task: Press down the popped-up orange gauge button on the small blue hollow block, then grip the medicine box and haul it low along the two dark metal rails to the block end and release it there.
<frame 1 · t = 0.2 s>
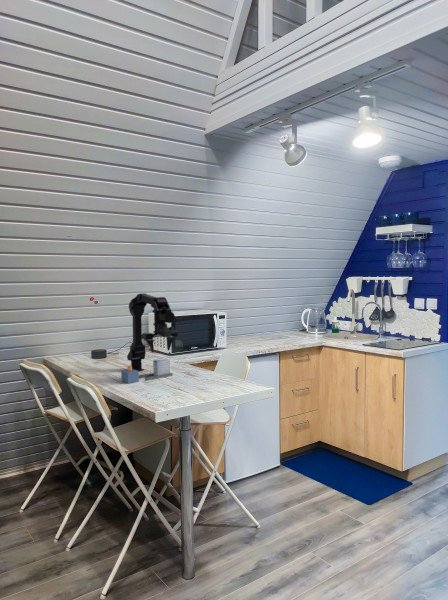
hand: (160, 351, 233), 14 cm above the countertop, fingers open, 9 cm apart
rails: (155, 376, 238), on the countertop
blue hollow block: (130, 381, 229), on the countertop
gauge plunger: (129, 370, 228), point 6 cm above the countertop, slide at 0.0 cm
medicine box: (161, 376, 241), on the countertop
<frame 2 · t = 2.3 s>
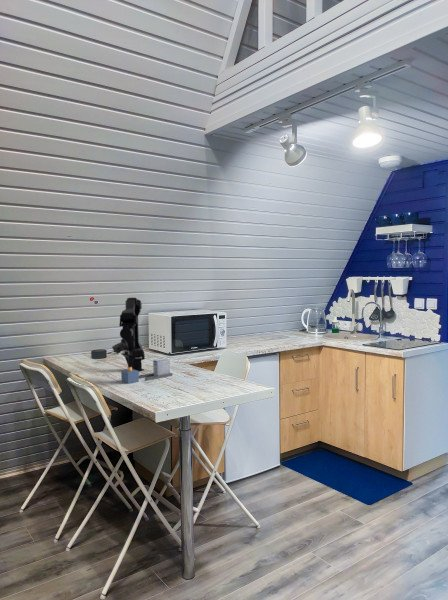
hand: (129, 367, 228), 7 cm above the countertop, fingers closed, pressing on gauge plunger
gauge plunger: (129, 371, 228), point 5 cm above the countertop, slide at -0.5 cm, touching gripper
everything else where it was.
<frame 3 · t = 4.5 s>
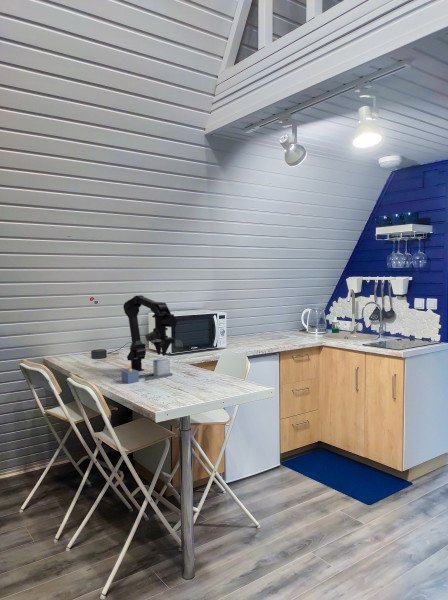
hand: (161, 355, 240), 11 cm above the countertop, fingers open, 4 cm apart
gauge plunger: (129, 372, 228), point 4 cm above the countertop, slide at -1.4 cm
everything else where it was.
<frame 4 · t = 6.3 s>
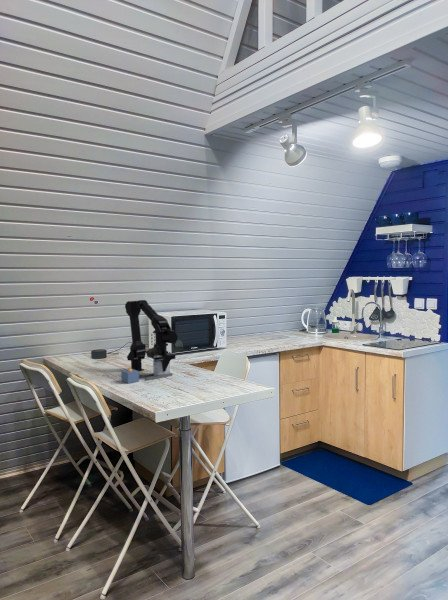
hand: (161, 370, 241), 3 cm above the countertop, fingers closed on medicine box, 4 cm apart
medicine box: (161, 376, 241), on the countertop, touching gripper
everything else where it was.
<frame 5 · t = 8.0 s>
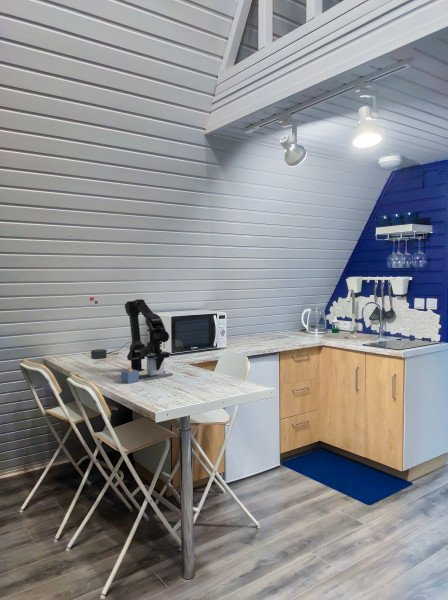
hand: (155, 369, 238), 4 cm above the countertop, fingers closed on medicine box, 4 cm apart
medicine box: (155, 374, 238), point 1 cm above the countertop, touching gripper
everything else where it was.
when the fingers open (3 cm above the countertop, at t = 9.6 s): medicine box stays where it is, on the countertop.
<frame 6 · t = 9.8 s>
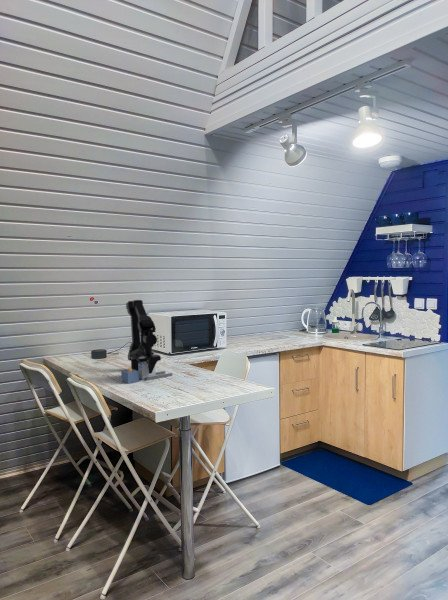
hand: (147, 372, 235), 3 cm above the countertop, fingers open, 6 cm apart
medicine box: (147, 378, 235), on the countertop
everything else where it was.
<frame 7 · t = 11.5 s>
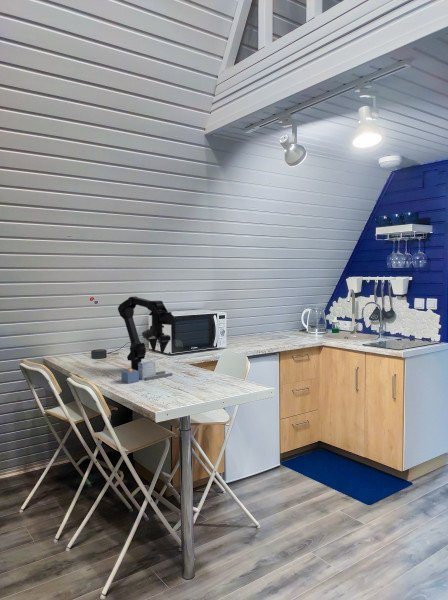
hand: (157, 352, 245), 12 cm above the countertop, fingers open, 9 cm apart
nothing on the countertop moved.
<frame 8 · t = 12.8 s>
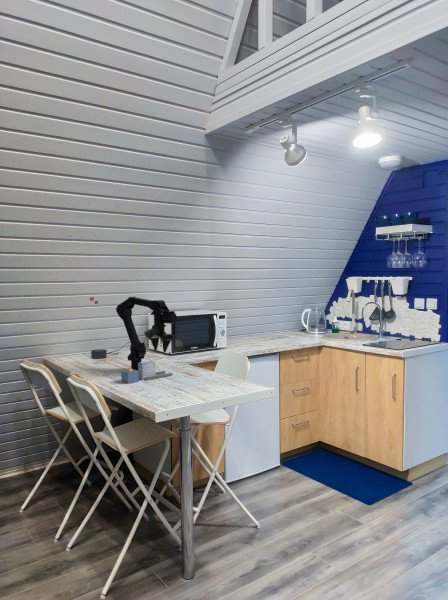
hand: (160, 351, 247), 12 cm above the countertop, fingers open, 9 cm apart
nothing on the countertop moved.
at the end: medicine box inside the target area (0.0 cm from its centre), on the countertop; medicine box tilted 0°; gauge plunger slide at -1.4 cm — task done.
